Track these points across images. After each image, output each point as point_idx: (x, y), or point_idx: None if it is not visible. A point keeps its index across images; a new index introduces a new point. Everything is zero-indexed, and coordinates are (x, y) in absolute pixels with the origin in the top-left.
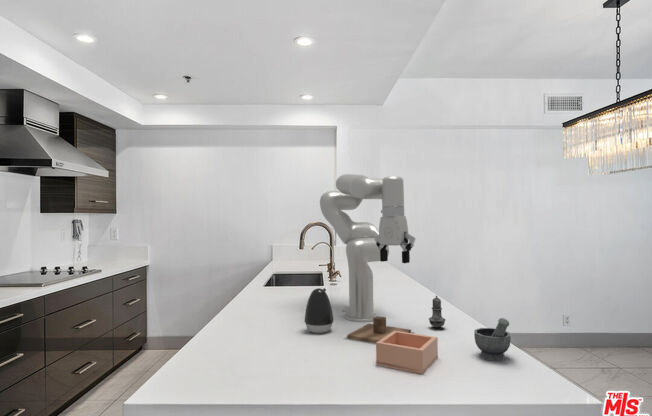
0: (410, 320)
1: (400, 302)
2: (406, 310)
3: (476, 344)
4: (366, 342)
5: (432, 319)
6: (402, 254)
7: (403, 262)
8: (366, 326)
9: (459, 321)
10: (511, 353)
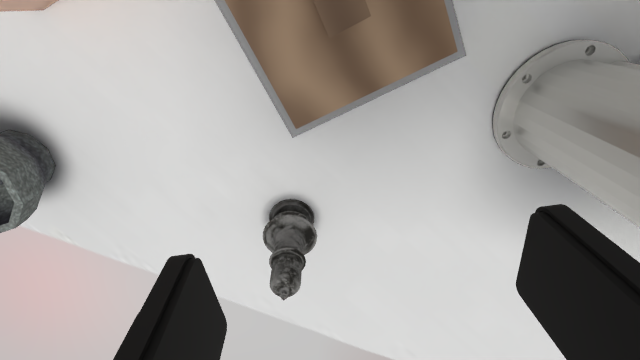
0: (409, 221)
1: None
2: (493, 281)
3: (2, 137)
4: None
5: (288, 221)
6: (135, 351)
7: (171, 259)
8: (433, 12)
9: (314, 304)
10: (38, 213)
